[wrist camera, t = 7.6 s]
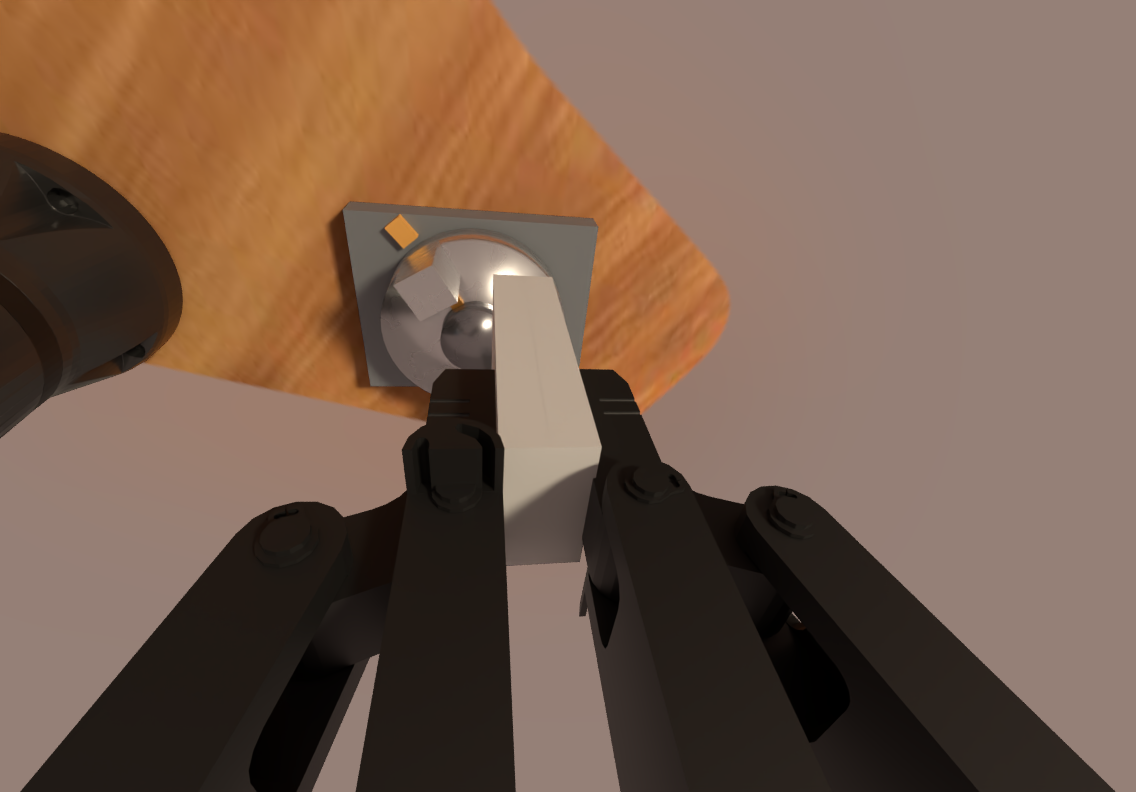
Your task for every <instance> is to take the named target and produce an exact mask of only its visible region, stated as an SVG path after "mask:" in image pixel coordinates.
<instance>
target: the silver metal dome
mask: <svg viewBox="0 0 1136 792" xmlns="http://www.w3.org/2000/svg"><path fill="white" fill-rule="evenodd" d="M493 274H497V275H518V276H538V277H552V275H551V273H550V271H549V270H548V268H547V266H546V265H545V264H544V263H543V261H542V260H541V259H540V258H539V257H538V256H537V255H536V254H535V253H534V252H533V251H532V250H531V249H529V248H528V247H527V246H525V245H524V244H523V243H521V242H519V241H517V240H516V239H514V238H512V237H510V236H507V235H505V234H502V233H500V232H496V231H492V230H488V229H479V228H460V229H454V230H449V231H445V232H442V233H438V234H436V235H434V236H432V237H429V238H427V239H426V240H424V241H422V242H421V243H419V244H418V245H416V246H415V247H414V248H413V249H412V250H411V251H409V252H408V254H407V255H406V256H405V257H404V258H403V259H402V261H401V262H400V264H399V265H398V267H397V268H396V270H395V272H394V275H393V277H392V279H391V282H390V284H389V287H388V289H387V292H386V294H385V296H384V300H383V304H382V308H381V331H382V335H383V340H384V343H385V345H386V348H387V351H388V353H389V354H390V356H391V358H392V360H393V361H394V363H395V364H396V366H397V367H398V368H399V370H400V371H401V372H402V373H403V374H404V375H405V376H406V377H407V378H408V379H409V380H411V381H412V382H413V383H414V384H415V385H417V386H419V387H420V388H422V389H423V390H425V391H427V392H429V393H431V391H432V385H433V382H434V381H435V380H436V379H437V378H438V377H439V375H440V374H441V373H442V372H443V371H444V370H445V369H492V319H493ZM552 278H553V277H552ZM553 282H554V285H555V288H556V292H557V295H558V299H559V302H560V306H561V309H562V312H563V316H564V310H563V307H562V303H561V299H560V296H559V293H558V289H557V286H556V284H555V281H554V279H553ZM564 319H565V316H564Z"/></svg>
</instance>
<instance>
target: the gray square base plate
mask: <svg viewBox="0 0 1136 792" xmlns="http://www.w3.org/2000/svg"><path fill="white" fill-rule="evenodd" d="M343 215H344V221H345V228H346V234H347V240H348V246H349V253H350V259H351V265H352V272H353V278H354V284H355V291H356V297H357V303H358V310H359V316H360V322H361V329H362V335H363V341H364V347H365V354H366V360H367V366H368V373H369V379H370V385H371V386H417V385H415V384H414V383H413V382H412V381H411V380H409V379H408V378H407V377H406V376H405V375H404V374H403V373H402V372H401V371H400V370H399V368H398V367H397V366H396V364H395V363H394V361H393V360H392V358H391V356H390V354H389V353H388V351H387V348H386V345H385V343H384V340H383V335H382V331H381V308H382V304H383V300H384V296H385V294H386V292H387V289H388V287H389V284H390V282H391V279H392V277H393V275H394V272H395V270H396V268H397V267H398V265H399V264H400V262H401V261H402V259H403V258H404V257H405V256H406V255H407V254H408V252H409V251H411V250H412V249H413V248H414V247H415V246H416V245H418V244H419V243H421V242H422V241H424V240H426V239H427V238H429V237H432V236H434V235H436V234H438V233H442V232H445V231H449V230H454V229H460V228H479V229H488V230H492V231H496V232H500V233H502V234H505V235H507V236H510V237H512V238H514V239H516V240H517V241H519V242H521V243H523V244H524V245H525V246H527V247H528V248H529V249H531V250H532V251H533V252H534V253H535V254H536V255H537V256H538V257H539V258H540V259H541V260H542V261H543V263H544V264H545V265H546V266H547V268H548V270H549V271H550V273H551V275H552V277H553V279H554V281H555V284H556V286H557V289H558V293H559V296H560V299H561V303H562V307H563V310H564V316H565V323H566V326H567V330H568V333H569V336H570V340H571V343H572V347H573V350H574V354H575V357H576V360H577V364H578V367H579V364H580V357H581V349H582V342H583V335H584V327H585V320H586V313H587V305H588V298H589V291H590V283H591V276H592V269H593V262H594V254H595V247H596V240H597V232H598V226H597V224H596V223H595V221H594V219H593V218H579V217H565V216H550V215H536V214H522V213H507V212H493V211H479V210H464V209H450V208H436V207H421V206H407V205H393V204H378V203H364V202H349V203H348V204H347V206H346V207H345V208H344V209H343Z"/></svg>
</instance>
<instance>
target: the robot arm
mask: <svg viewBox="0 0 1136 792" xmlns="http://www.w3.org/2000/svg"><path fill="white" fill-rule="evenodd" d="M182 303H183V298H182V288H181V283H180V279H179V275H178V272H177V269H176V267H175V264H174V262H173V260H172V258H171V256H170V254H169V252H168V250H167V248H166V247H165V245H164V243H163V242H162V240H161V239H160V237H159V236H158V234H157V233H156V232H155V230H154V229H153V228H152V226H151V225H150V224H149V223H148V222H147V220H146V219H145V218H144V217H143V216H142V215H141V214H140V213H139V212H138V210H137V209H136V208H135V207H134V206H133V205H131V204H130V203H129V202H128V201H127V200H126V199H125V198H124V197H123V196H122V195H121V194H119V193H118V192H117V191H116V190H115V189H113V188H112V187H111V186H110V185H108V184H107V183H106V182H104V181H103V180H102V179H100V178H99V177H97V176H96V175H95V174H93V173H91V172H90V171H88V170H87V169H85V168H84V167H82V166H80V165H79V164H77V163H75V162H74V161H72V160H70V159H68V158H66V157H64V156H62V155H61V154H58V153H56V152H54V151H52V150H50V149H48V148H46V147H43V146H41V145H38V144H36V143H33V142H31V141H28V140H25V139H22V138H19V137H16V136H12V135H9V134H5V133H1V132H0V438H1V437H2V436H4V435H5V434H6V433H7V432H8V431H10V430H11V429H12V428H13V427H14V426H16V424H18V423H19V422H20V421H22V420H23V419H24V418H25V417H26V416H27V415H29V414H30V413H31V412H32V411H33V410H35V409H36V408H37V407H39V406H40V405H41V404H42V403H44V402H45V401H46V400H47V399H49V398H50V397H53V396H56V395H59V394H62V393H65V392H68V391H71V390H74V389H77V388H80V387H83V386H86V385H89V384H92V383H95V382H98V381H101V380H104V379H107V378H110V377H113V376H116V375H119V374H121V373H124V372H126V371H129V370H131V369H133V368H134V367H136V366H138V365H139V364H141V363H143V362H144V361H145V360H147V359H148V358H149V357H150V356H151V355H152V354H154V353H155V352H156V351H157V350H158V349H159V348H160V347H161V346H162V345H163V344H165V343H166V342H167V341H168V339H169V338H170V337H171V336H172V334H173V333H174V331H175V330H176V328H177V326H178V323H179V321H180V317H181V313H182ZM402 455H403V463H404V472H405V479H406V488H407V490H406V491H405V492H404V493H403V494H402V495H401V496H400V497H398V498H396V499H395V500H393V501H391V502H389V503H388V504H386V505H383V506H380V507H378V508H375V509H372V510H369V511H365V512H362V513H358V514H354V515H351V516H347V517H343V516H341V514H340V513H339V512H338V511H337V510H336V509H335V508H333V507H331V506H328V505H325V504H322V503H319V502H294V503H290V504H286V505H282V506H279V507H274V508H272V509H271V510H268V511H267V512H265V513H263V514H261V515H259V516H257V517H255V518H253V519H252V520H251V521H250V522H249V523H248V524H247V525H245V526H244V527H243V528H242V529H241V530H240V531H239V532H237V533H236V534H235V536H234V537H233V538H232V539H231V540H230V542H229V543H228V544H227V545H226V547H225V548H224V549H223V550H222V551H221V552H220V554H219V555H218V556H217V557H216V558H215V559H214V561H213V562H212V563H211V564H210V565H209V567H208V568H207V569H206V570H205V571H204V573H203V574H202V575H201V576H200V577H199V579H198V580H197V581H196V582H195V583H194V585H193V586H192V587H191V588H190V589H189V591H188V592H187V593H186V594H185V596H184V597H183V598H182V599H181V600H180V601H179V603H178V604H177V605H176V606H175V608H174V609H173V610H172V611H171V612H170V613H169V615H168V616H167V617H166V618H165V619H164V621H163V622H162V623H161V624H160V625H159V626H158V628H157V629H156V630H155V631H154V632H153V634H152V635H151V636H150V637H149V638H148V640H147V641H146V642H145V643H144V644H143V646H142V647H141V648H140V649H139V650H138V652H137V653H136V654H135V655H134V657H133V658H132V659H131V660H130V661H129V662H128V664H127V665H126V666H125V667H124V668H123V670H122V671H121V672H120V673H119V674H118V676H117V677H116V678H115V679H114V680H113V681H112V683H111V684H110V685H109V686H108V687H107V689H106V690H105V691H104V692H103V693H102V695H101V696H100V697H99V698H98V699H97V701H96V702H95V703H94V704H93V705H92V707H91V708H90V709H89V710H88V712H87V713H86V714H85V715H84V716H83V717H82V719H81V720H80V721H79V722H78V724H77V725H76V726H75V727H74V728H73V729H72V731H71V732H70V733H69V734H68V735H67V737H66V738H65V739H64V740H63V741H62V743H61V744H60V745H59V746H58V747H57V749H56V750H55V751H54V752H53V754H51V756H50V757H49V758H48V759H47V761H46V762H45V763H44V764H43V765H42V766H41V768H40V769H39V770H38V772H37V773H36V774H35V775H34V776H33V777H32V778H31V780H30V781H29V782H28V783H27V784H26V786H25V787H24V788H23V789H22V791H21V792H312V789H313V787H314V785H315V783H316V781H317V778H318V776H319V773H320V771H321V769H322V767H323V764H324V762H325V759H326V757H327V755H328V753H329V750H330V748H331V746H332V744H333V741H334V739H335V737H336V734H337V732H338V729H339V727H340V725H341V723H342V720H343V718H344V716H345V714H346V711H347V709H348V707H349V704H350V702H351V700H352V697H353V695H354V692H355V691H356V688H357V686H358V684H359V681H360V678H361V677H362V674H363V672H364V670H365V667H366V665H367V663H368V661H369V658H370V657H372V656H375V655H377V654H380V655H379V661H378V666H377V673H376V678H375V683H374V689H373V695H372V701H371V706H370V712H369V718H368V724H367V729H366V736H365V741H364V747H363V753H362V758H361V764H360V770H359V776H358V781H357V787H356V792H516V790H515V766H514V742H513V721H512V720H513V719H512V695H511V671H510V649H509V625H508V601H507V576H506V566H513V565H531V564H549V563H568V562H580V557H581V553H582V547H583V546H584V551H585V556H586V561H587V566H588V568H587V573H586V577H585V582H584V587H583V591H582V596H581V601H580V612H579V616H586V612H587V607H588V612H589V618H590V623H591V629H592V634H593V640H594V646H595V651H596V657H597V662H598V668H599V674H600V679H601V685H602V691H603V696H604V702H605V707H606V713H607V718H608V724H609V729H610V735H611V741H612V746H613V752H614V758H615V763H616V769H617V774H618V779H619V786H620V791H621V792H1115V791H1114V790H1113V789H1112V788H1111V787H1110V786H1109V785H1108V784H1107V783H1106V782H1105V781H1104V780H1103V779H1102V778H1101V777H1100V776H1099V775H1098V774H1097V773H1096V772H1095V771H1094V770H1093V769H1092V768H1090V767H1089V766H1088V765H1087V764H1086V763H1085V762H1084V761H1083V760H1082V759H1081V758H1080V757H1079V756H1078V755H1077V754H1076V753H1075V752H1074V751H1073V750H1072V749H1071V748H1070V747H1069V746H1068V745H1067V744H1066V743H1065V742H1064V741H1063V740H1062V739H1060V737H1058V735H1056V733H1055V732H1053V731H1052V730H1051V729H1050V728H1049V727H1048V726H1047V725H1046V724H1045V723H1044V722H1043V721H1042V720H1041V719H1040V718H1039V717H1038V716H1037V715H1036V714H1035V713H1034V712H1033V711H1032V710H1031V709H1030V708H1029V707H1028V706H1027V705H1026V704H1025V703H1024V702H1022V700H1021V699H1020V698H1018V697H1017V696H1016V695H1015V694H1014V693H1013V692H1012V691H1011V690H1010V689H1009V688H1008V687H1007V686H1006V685H1005V684H1004V683H1003V682H1002V681H1001V680H1000V679H999V678H998V677H997V676H996V675H995V674H994V673H993V672H992V671H991V670H990V669H989V668H988V667H987V666H985V664H983V663H982V662H981V661H980V660H979V659H978V658H977V657H976V656H975V655H974V654H973V653H972V652H971V651H970V650H969V649H968V648H967V647H966V646H965V645H964V644H963V643H962V642H961V641H960V640H959V639H958V638H957V637H956V636H955V635H954V634H953V633H952V632H950V631H949V630H948V629H947V628H946V627H945V626H944V625H943V624H942V623H941V622H940V621H939V620H938V619H937V618H936V617H935V616H934V615H933V614H932V613H931V612H930V611H929V610H928V609H927V608H926V607H925V606H924V605H923V604H922V603H920V601H919V600H917V598H915V597H914V596H913V595H912V594H911V593H910V592H909V591H908V590H907V589H906V588H905V587H904V586H903V585H902V584H901V583H900V582H899V581H898V580H897V579H896V578H895V577H894V576H893V575H892V574H891V573H890V572H888V570H887V569H886V568H885V567H884V566H882V564H880V563H879V562H878V561H877V560H876V559H875V558H874V557H873V556H872V555H871V554H870V553H869V552H868V551H867V550H866V549H865V548H864V547H863V546H862V545H861V544H859V542H858V541H857V540H856V539H855V538H854V537H853V536H852V535H851V534H850V533H849V532H848V531H847V530H846V529H844V528H843V527H842V526H841V525H840V524H839V523H838V522H837V521H836V520H835V519H834V518H833V517H832V516H831V515H830V514H829V513H828V512H827V511H826V510H825V509H824V508H822V507H821V506H820V505H819V504H817V503H816V502H815V501H813V500H812V499H811V498H810V497H808V496H805V495H803V494H801V493H799V492H797V491H795V490H792V489H788V488H784V487H779V486H763V487H759V488H757V489H756V490H754V491H752V492H750V494H749V496H748V498H747V500H746V502H745V504H740V503H735V502H731V501H726V500H722V499H717V498H714V497H709V496H706V495H703V494H699V493H696V492H695V491H692V489H691V487H690V485H689V484H688V483H687V481H686V480H685V478H684V477H683V476H682V474H680V473H679V472H678V471H676V470H675V469H673V468H672V467H671V466H669V465H667V464H665V463H662V462H661V460H660V457H659V455H658V453H657V451H656V448H655V446H654V444H653V441H652V439H651V436H650V434H649V432H648V430H647V427H646V425H645V422H644V420H643V418H642V415H640V410H639V408H638V406H637V403H636V402H634V396H633V394H632V392H631V389H630V387H629V385H628V383H627V382H626V381H625V380H624V379H623V378H622V377H620V376H619V375H618V374H617V373H616V372H615V371H614V370H599V369H579V367H578V364H577V360H576V357H575V354H574V350H573V347H572V343H571V340H570V336H569V333H568V330H567V326H566V323H565V319H564V316H563V312H562V309H561V306H560V302H559V299H558V295H557V292H556V288H555V285H554V282H553V278H552V277H538V276H518V275H497V274H493V319H492V369H445V370H444V371H443V372H442V373H441V374H440V375H439V377H438V378H437V379H436V380H435V381H434V382H433V385H432V391H431V397H430V404H429V410H428V417H427V422H426V425H425V426H422V427H420V428H419V429H418V430H417V431H415V432H414V433H413V434H412V435H410V436H409V437H408V439H407V441H406V443H405V445H404V447H403V449H402ZM792 612H794V614H795V615H796V616H797V617H798V619H799V620H800V621H801V622H802V623H801V622H800V621H798V619H797V618H796V617H795V616H794V615H793V614H792Z"/></svg>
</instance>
